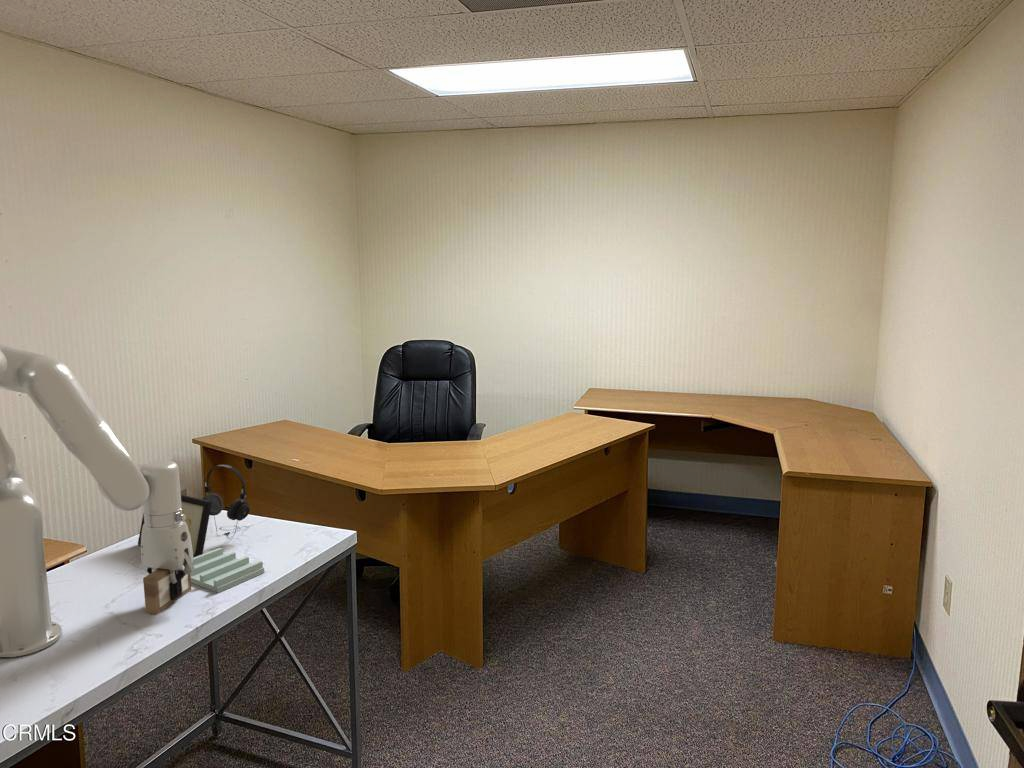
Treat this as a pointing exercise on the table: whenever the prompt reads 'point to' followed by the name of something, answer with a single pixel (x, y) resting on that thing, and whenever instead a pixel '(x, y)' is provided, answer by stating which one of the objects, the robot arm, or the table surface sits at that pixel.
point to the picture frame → (193, 521)
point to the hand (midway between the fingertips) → (169, 595)
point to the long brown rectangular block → (161, 590)
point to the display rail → (223, 570)
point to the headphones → (239, 506)
